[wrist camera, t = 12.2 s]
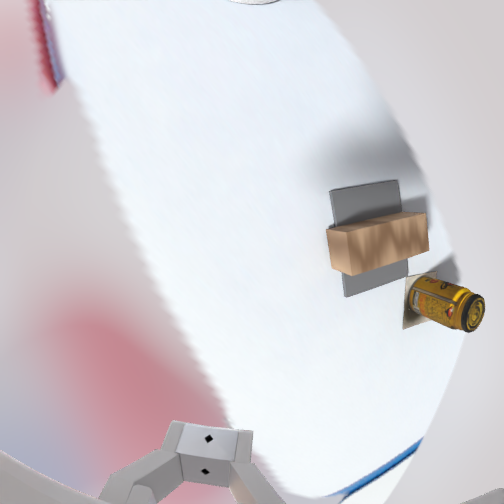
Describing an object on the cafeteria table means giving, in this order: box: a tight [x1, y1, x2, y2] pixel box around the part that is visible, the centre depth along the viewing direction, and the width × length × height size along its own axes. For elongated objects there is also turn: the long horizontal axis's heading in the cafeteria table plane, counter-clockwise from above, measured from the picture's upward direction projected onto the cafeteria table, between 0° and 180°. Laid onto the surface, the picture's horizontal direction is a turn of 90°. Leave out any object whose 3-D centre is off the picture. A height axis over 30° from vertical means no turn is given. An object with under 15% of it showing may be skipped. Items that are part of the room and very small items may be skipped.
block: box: [326, 212, 429, 276], centre depth 37 cm, size 5×5×13 cm
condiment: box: [403, 271, 485, 333], centre depth 38 cm, size 7×8×12 cm
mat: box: [329, 180, 408, 298], centre depth 40 cm, size 14×11×1 cm
